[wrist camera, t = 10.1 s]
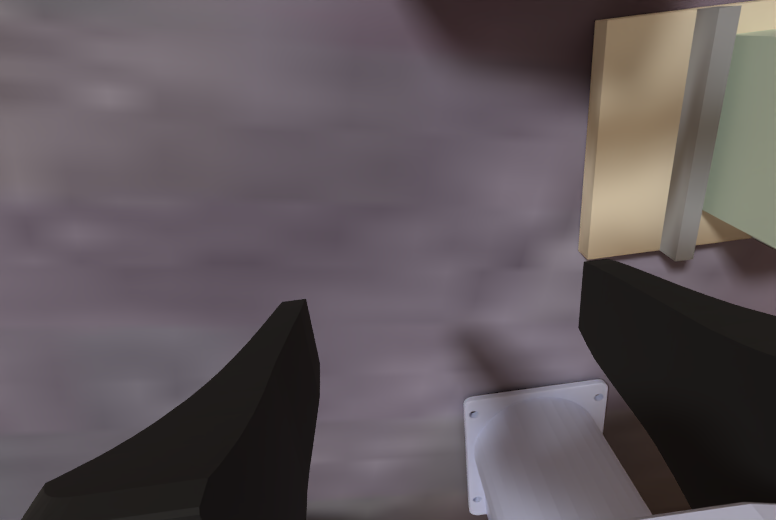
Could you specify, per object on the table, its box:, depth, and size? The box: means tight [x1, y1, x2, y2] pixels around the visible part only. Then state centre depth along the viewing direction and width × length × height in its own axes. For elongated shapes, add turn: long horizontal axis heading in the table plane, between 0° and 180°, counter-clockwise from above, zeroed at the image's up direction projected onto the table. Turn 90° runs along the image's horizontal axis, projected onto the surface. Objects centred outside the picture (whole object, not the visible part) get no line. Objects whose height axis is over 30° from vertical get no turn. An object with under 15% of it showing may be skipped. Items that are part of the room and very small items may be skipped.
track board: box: [578, 0, 776, 262], centre depth 20 cm, size 10×12×2 cm
